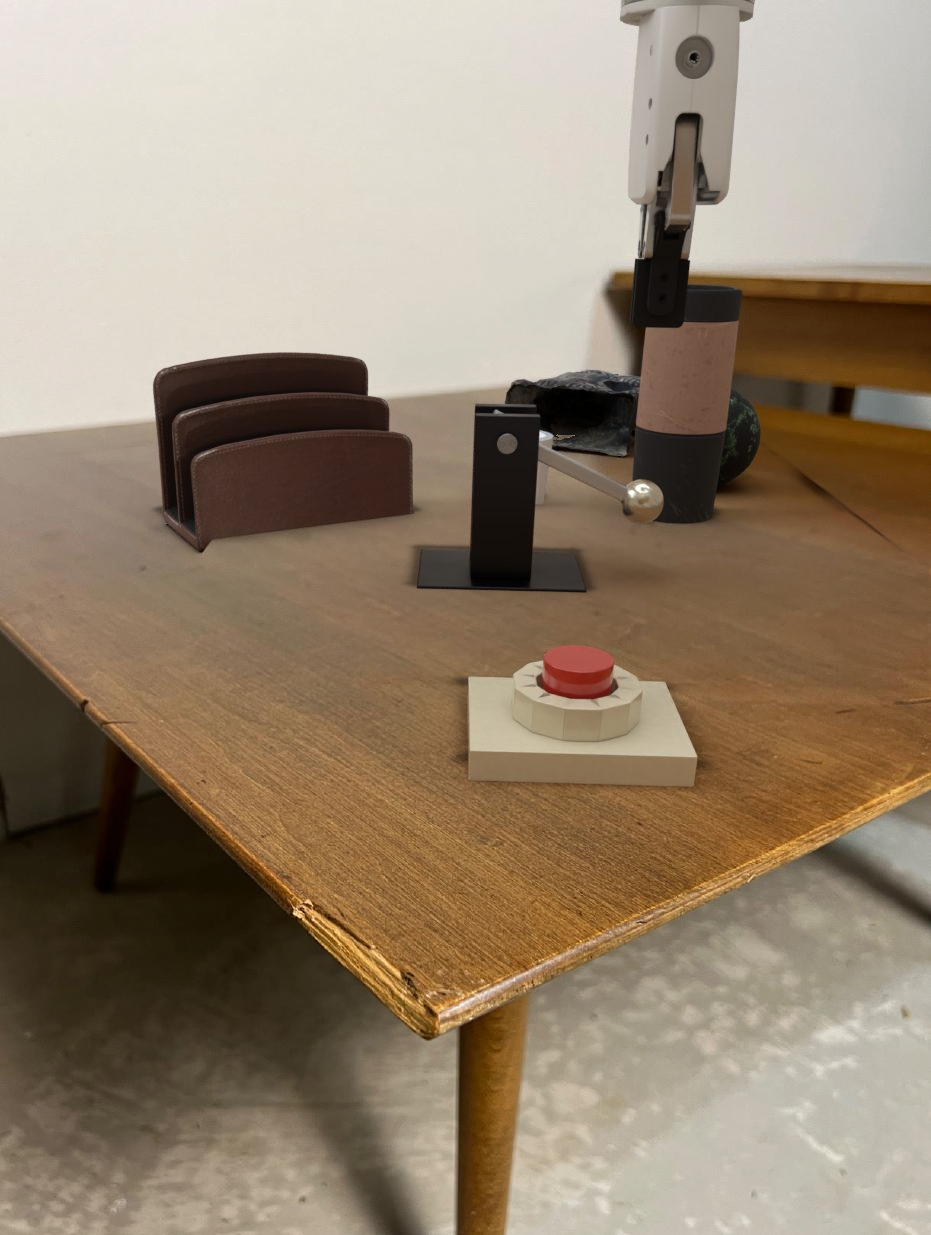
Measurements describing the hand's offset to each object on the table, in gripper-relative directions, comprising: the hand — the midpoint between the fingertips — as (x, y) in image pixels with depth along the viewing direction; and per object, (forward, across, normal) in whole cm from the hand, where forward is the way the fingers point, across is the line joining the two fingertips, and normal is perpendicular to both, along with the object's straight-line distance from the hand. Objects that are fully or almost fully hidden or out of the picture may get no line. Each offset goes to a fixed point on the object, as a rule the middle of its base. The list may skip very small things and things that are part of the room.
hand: (655, 325), depth 69 cm
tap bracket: (+19, +4, +9) cm, 21 cm away
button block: (+19, -22, +6) cm, 30 cm away
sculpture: (+19, +66, -4) cm, 69 cm away
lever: (+12, +4, +5) cm, 13 cm away
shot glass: (+19, +26, +8) cm, 33 cm away
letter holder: (+19, +18, +28) cm, 38 cm away
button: (+16, -22, +6) cm, 28 cm away
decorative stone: (+19, +37, -12) cm, 44 cm away
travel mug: (+19, +22, -6) cm, 30 cm away
